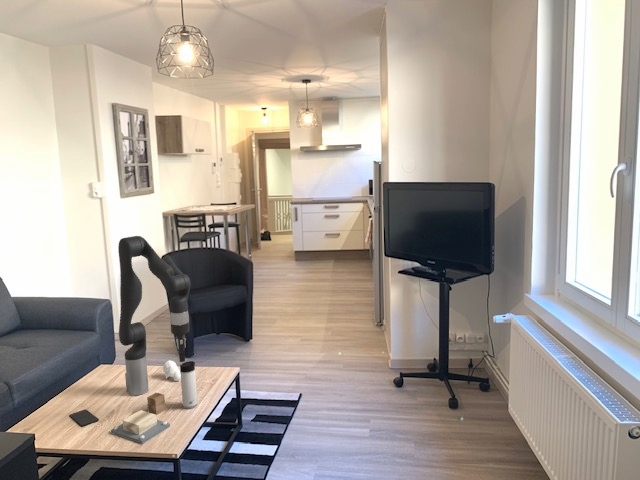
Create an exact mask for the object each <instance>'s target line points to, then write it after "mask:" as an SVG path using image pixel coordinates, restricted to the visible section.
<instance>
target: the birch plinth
mask: <svg viewBox="0 0 640 480" xmlns="http://www.w3.org/2000/svg"><path fill="white" fill-rule="evenodd" d="M157 416H158V415H155V414H152V413H148V411H145V410H142V409H140V410H139V411H136V412H135V413H134V414H132V415H130V416H127V417H126V418H124V419H122V423H123V429H124V430H126V431H129V432H132V433H135V434H138V435H140V434H142V433H143V432H145V431H147V430H148V429H150V428H152V427H153V426H155V425H157V420H158V419H157Z"/></svg>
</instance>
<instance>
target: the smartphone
mask: <svg viewBox="0 0 640 480" xmlns="http://www.w3.org/2000/svg"><path fill="white" fill-rule="evenodd" d="M68 417H69V418H70V419H71V420H72V421H74V422H75V423H76V424H77V425H78V426H80V427H82V428H85V427H87V426H90V425H93V424H96V423H97V422H99V421H100V419H99V418H98V417H97V416H96V415H94V414H93V413H91V412H90V411H89V410H88V409H82V410H79V411H76V412H73V413H71V414H69V415H68Z"/></svg>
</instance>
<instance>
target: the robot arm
mask: <svg viewBox="0 0 640 480" xmlns="http://www.w3.org/2000/svg"><path fill="white" fill-rule="evenodd" d="M137 257H143V258H144V259H146V260H147V264H148V269H149V271H150V272H151V273H152V275H154V276H155V277H156V278H157V279H158V280H159V281H160V283H161V284H162V286H163V288H164V290H165V291H166V292H167V293H171V294H175V293H176V294H175V296H173V297H172V298H171V299H170V300H169V305H170V306H169V308H170V309H169V310H170V311H169V312H170V317H169V320H170V332H171V334H173V335H175V342H176V348H177V351H178V355H179V357H178V358H179V363H185V361H186V346H187V345H186V341H187V338H186V334H188V333H189V332H190V317H189V309H188V307H189V306H188V300H189V295H190V291H191V279H190V277H189V275H187V274H185V273H181V274H180V273H179V274H177V275H175V270H174V268H173V267H172V266H171V265H170V264H168V263H167V262H166V261H165V260H163V259H162V258H161V257H160V255H159V254H157V252H156V251H155V250H154V249H153V247H152V245H150V244H149V242H148V241H147V240H146V238H144V237H143V236H141V235H134V236H127V237H126V236H125V237H123V238H121V239H120V240H119V241H118V260H119V270H120V273H119V274H120V287H119V291H120V292H119V294H120V295H119V296H120V313H119V314H120V315H119V323H118V324H119V326H118V339H119V343H120V344H121V345H123V346H125V347H127V346H130V345H131V347H129V348H128V349H127V350H126V351H125V352H124V362H125V373H124V378H125V386H126V387H125V388H126V393H128V395H129V396H140V395H145V394H146V393H147V392H149V390H150V389H149V378H148V377H149V376H148V364H147V354H146V353H147V331H146V328H145V325H144V324H143V323H142V322H141V321H140V322H139V321H137V322H133V323H132V319H133V317H134V314H135V312H136V311H137V309H138V307H139V306H140V304H141V301H142V298H143V284H142V282H141V280H140V278H139V277H138V275H137V273H136V272H135V271H134V269H133V263H132V260H133V259H132V258H137Z"/></svg>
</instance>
